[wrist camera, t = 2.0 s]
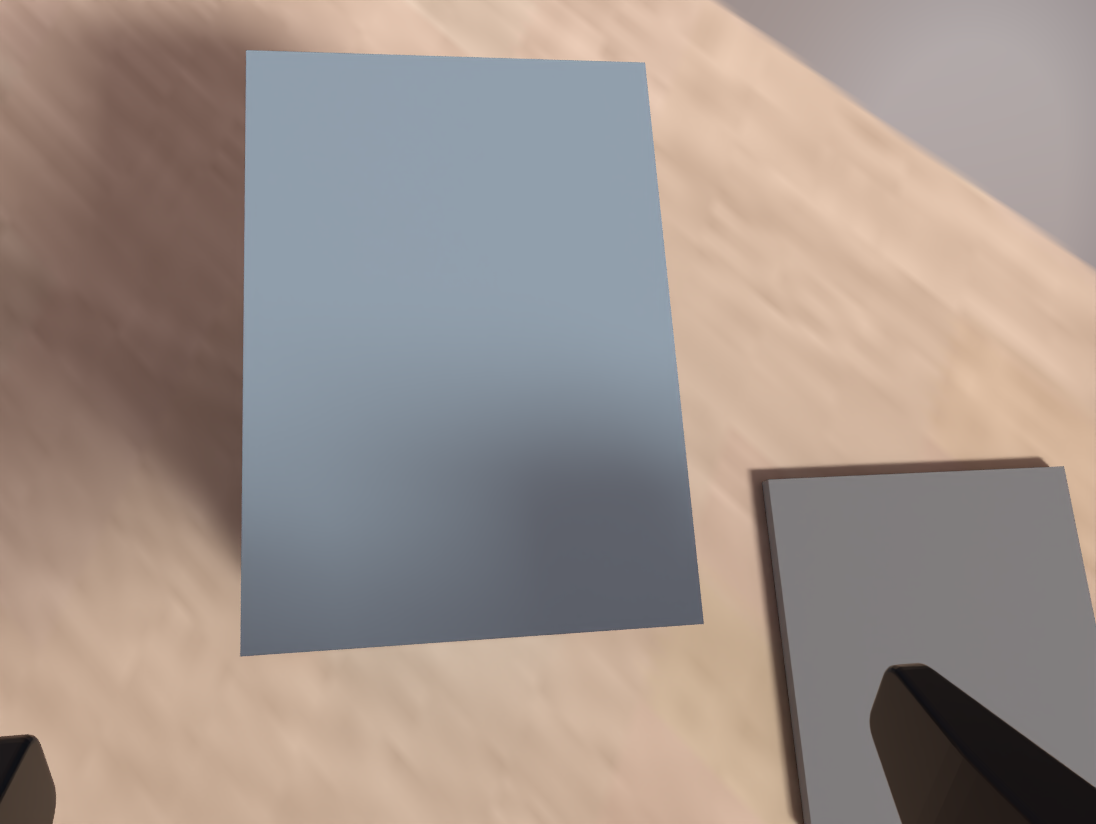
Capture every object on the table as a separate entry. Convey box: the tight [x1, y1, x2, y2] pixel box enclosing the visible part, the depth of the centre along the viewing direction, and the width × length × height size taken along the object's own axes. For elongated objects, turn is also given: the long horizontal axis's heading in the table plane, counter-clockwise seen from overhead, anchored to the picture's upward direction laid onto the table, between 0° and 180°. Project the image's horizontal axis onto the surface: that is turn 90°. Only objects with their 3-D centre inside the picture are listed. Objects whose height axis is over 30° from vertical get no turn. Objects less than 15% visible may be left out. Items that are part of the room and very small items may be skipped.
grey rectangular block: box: [240, 50, 704, 656], centre depth 17 cm, size 8×6×10 cm
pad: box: [762, 466, 1096, 824], centre depth 22 cm, size 8×8×1 cm
